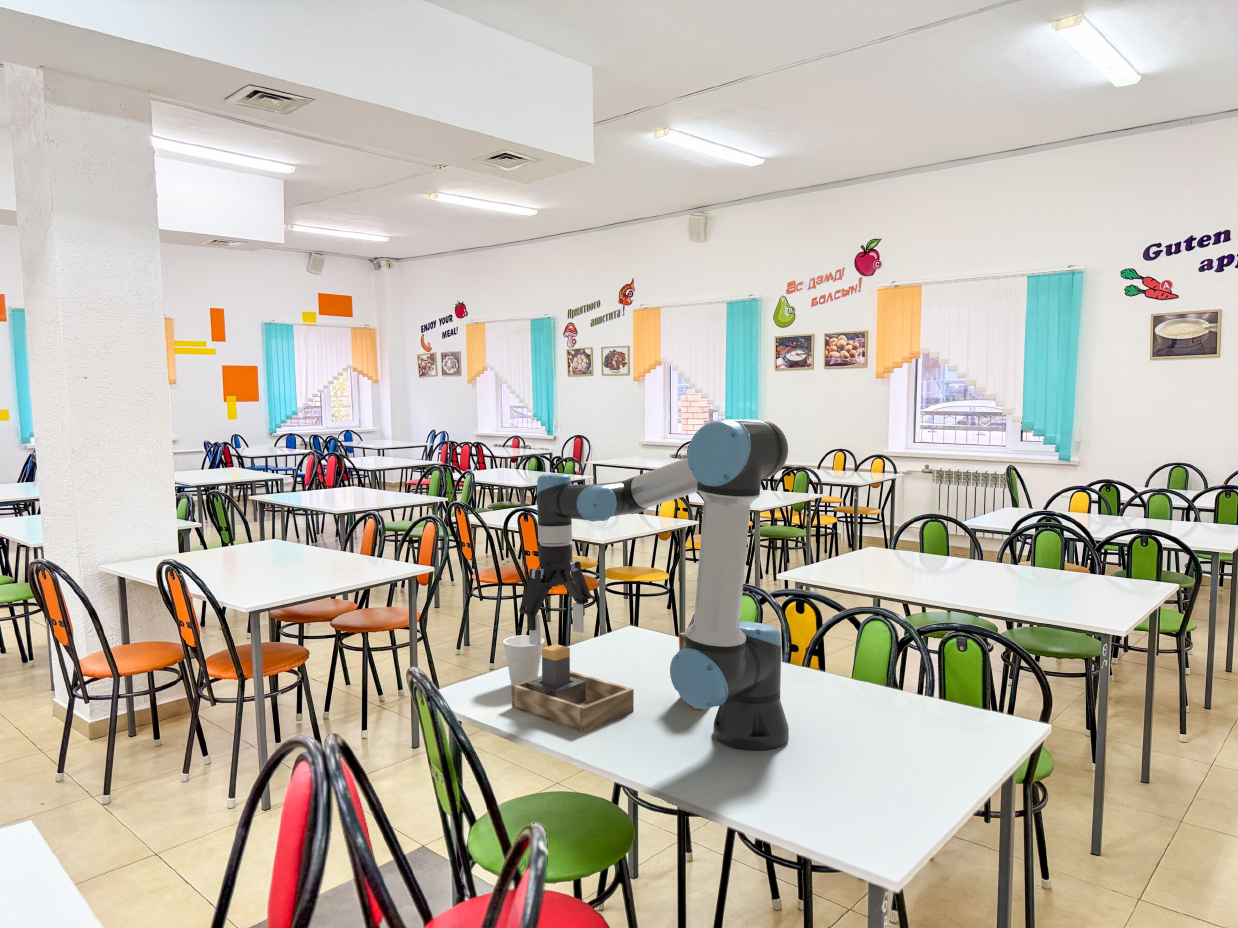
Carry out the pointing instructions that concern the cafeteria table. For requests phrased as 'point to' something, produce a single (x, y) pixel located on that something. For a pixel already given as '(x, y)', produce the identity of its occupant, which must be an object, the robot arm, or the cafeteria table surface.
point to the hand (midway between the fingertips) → (557, 637)
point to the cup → (522, 658)
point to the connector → (555, 665)
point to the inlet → (562, 690)
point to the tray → (597, 709)
